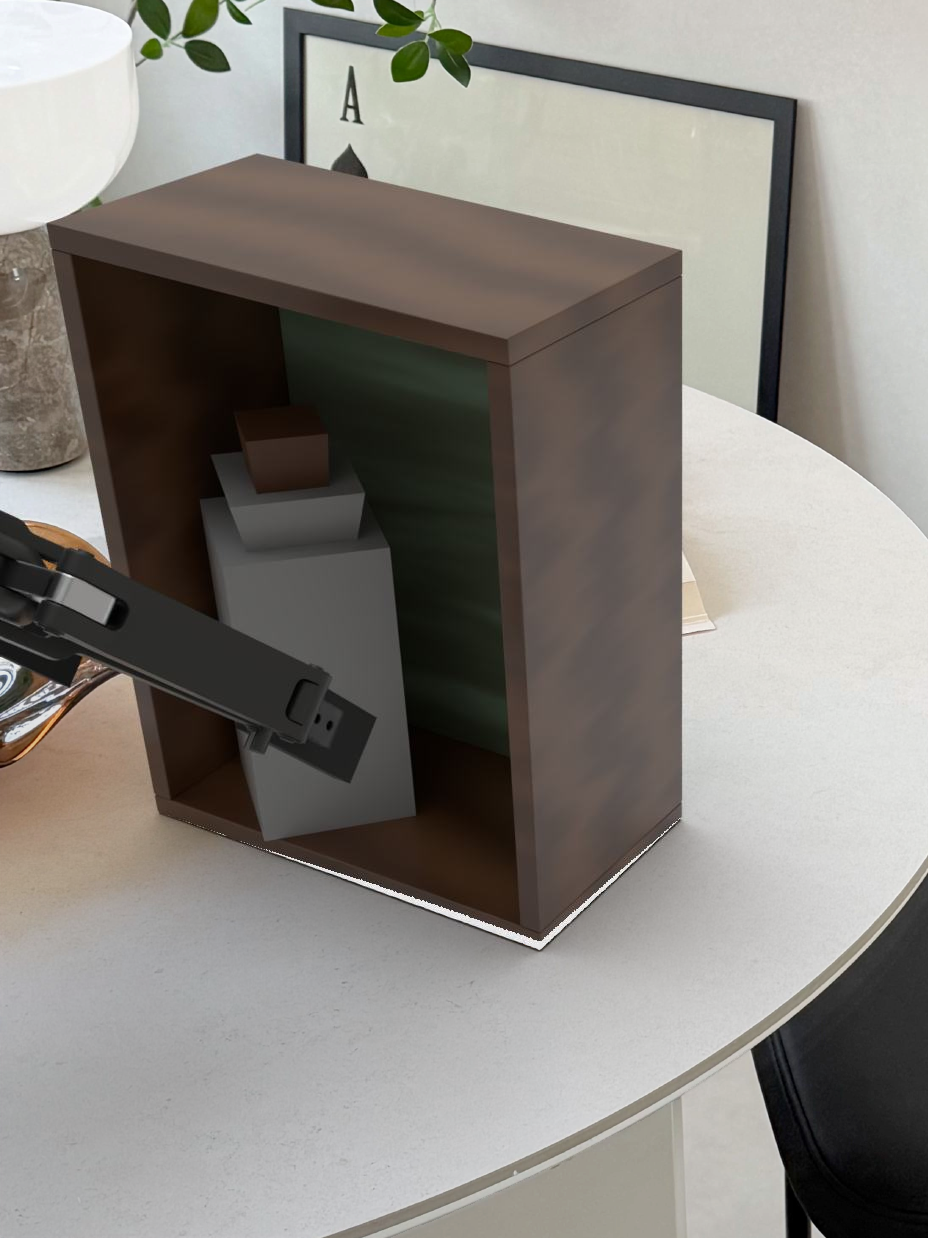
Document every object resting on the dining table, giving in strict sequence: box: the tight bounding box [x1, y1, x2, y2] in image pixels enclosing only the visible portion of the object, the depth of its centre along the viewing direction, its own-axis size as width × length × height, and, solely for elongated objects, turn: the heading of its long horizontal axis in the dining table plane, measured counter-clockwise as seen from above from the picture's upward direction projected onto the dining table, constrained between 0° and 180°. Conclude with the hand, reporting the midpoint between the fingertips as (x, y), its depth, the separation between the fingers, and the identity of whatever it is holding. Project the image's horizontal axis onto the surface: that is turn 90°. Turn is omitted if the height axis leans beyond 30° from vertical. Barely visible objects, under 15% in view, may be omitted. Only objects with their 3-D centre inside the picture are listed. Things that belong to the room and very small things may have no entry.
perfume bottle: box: [200, 404, 416, 841], centre depth 86 cm, size 7×7×18 cm
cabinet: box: [45, 153, 683, 941], centre depth 84 cm, size 12×21×27 cm, turn 65°
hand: (212, 700), depth 76 cm, fingers open, 13 cm apart
